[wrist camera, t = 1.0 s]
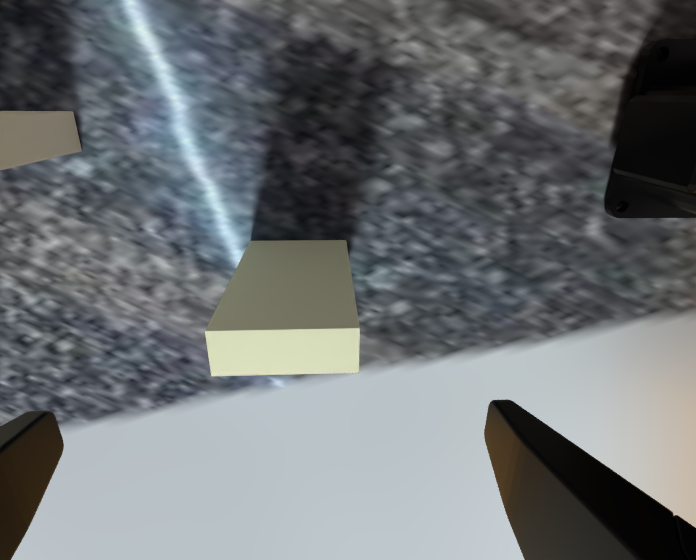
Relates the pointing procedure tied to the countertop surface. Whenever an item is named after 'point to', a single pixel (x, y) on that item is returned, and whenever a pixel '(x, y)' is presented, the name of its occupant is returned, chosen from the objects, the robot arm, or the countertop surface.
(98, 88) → the countertop surface
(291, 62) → the countertop surface
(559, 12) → the countertop surface
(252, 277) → the domino
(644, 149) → the robot arm
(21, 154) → the domino
